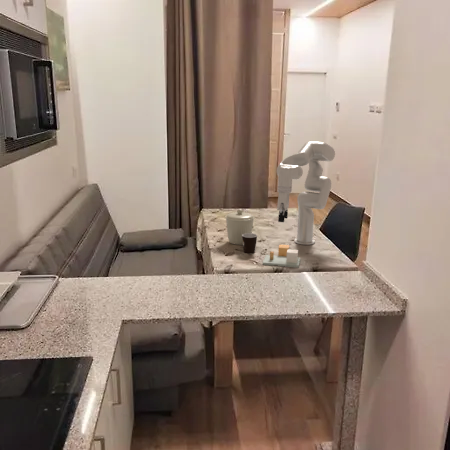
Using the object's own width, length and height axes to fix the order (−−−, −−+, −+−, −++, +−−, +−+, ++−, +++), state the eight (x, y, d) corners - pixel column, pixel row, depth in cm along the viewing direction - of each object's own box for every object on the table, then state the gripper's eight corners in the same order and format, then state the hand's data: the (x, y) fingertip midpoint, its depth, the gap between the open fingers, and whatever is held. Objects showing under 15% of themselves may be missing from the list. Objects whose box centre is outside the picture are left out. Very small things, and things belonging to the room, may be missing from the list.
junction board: (265, 256, 250) (266, 245, 249) (300, 259, 246) (300, 248, 245) (262, 264, 238) (262, 252, 236) (298, 267, 234) (299, 255, 232)
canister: (220, 244, 271) (220, 210, 265) (230, 236, 287) (231, 204, 282) (248, 248, 264) (249, 213, 259) (257, 240, 281) (258, 207, 275)
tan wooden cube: (279, 253, 256) (279, 244, 254) (289, 254, 255) (289, 245, 253) (278, 256, 251) (278, 247, 249) (288, 257, 249) (288, 248, 248)
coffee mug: (255, 254, 253) (256, 237, 251) (240, 253, 255) (240, 236, 252) (258, 248, 264) (258, 232, 262) (243, 247, 266) (244, 231, 263)
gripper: (280, 186, 252) (279, 216, 256) (274, 191, 236) (273, 222, 240) (294, 187, 250) (292, 217, 254) (288, 192, 234) (286, 224, 238)
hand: (282, 220), depth 247 cm, fingers open, 9 cm apart
